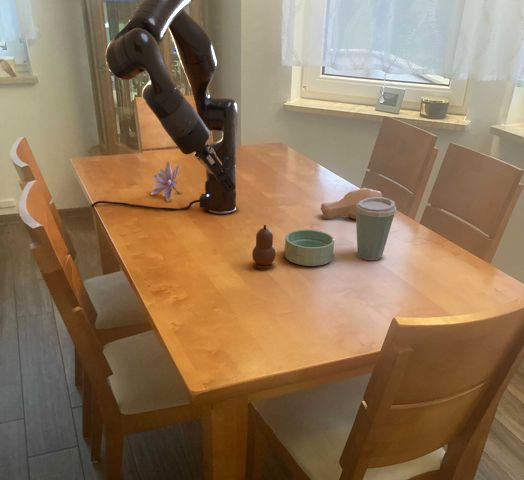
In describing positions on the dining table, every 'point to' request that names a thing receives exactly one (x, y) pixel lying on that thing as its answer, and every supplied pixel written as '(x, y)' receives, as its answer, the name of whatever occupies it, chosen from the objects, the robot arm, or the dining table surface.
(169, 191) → the water lily
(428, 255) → the dining table surface
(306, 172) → the dining table surface
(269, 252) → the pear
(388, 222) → the disposable coffee cup
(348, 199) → the squash
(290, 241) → the bowl
